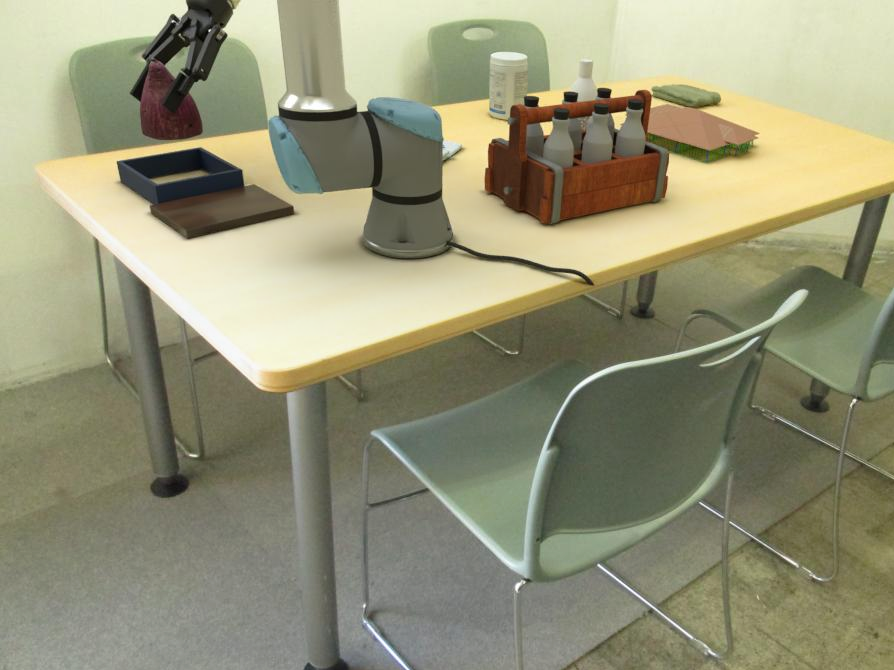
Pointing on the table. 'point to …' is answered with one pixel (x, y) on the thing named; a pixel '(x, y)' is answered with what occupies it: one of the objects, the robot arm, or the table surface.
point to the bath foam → (585, 86)
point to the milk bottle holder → (577, 157)
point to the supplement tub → (507, 82)
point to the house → (697, 130)
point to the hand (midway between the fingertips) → (152, 103)
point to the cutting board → (221, 210)
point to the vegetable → (159, 118)
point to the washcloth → (686, 95)
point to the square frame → (146, 167)
